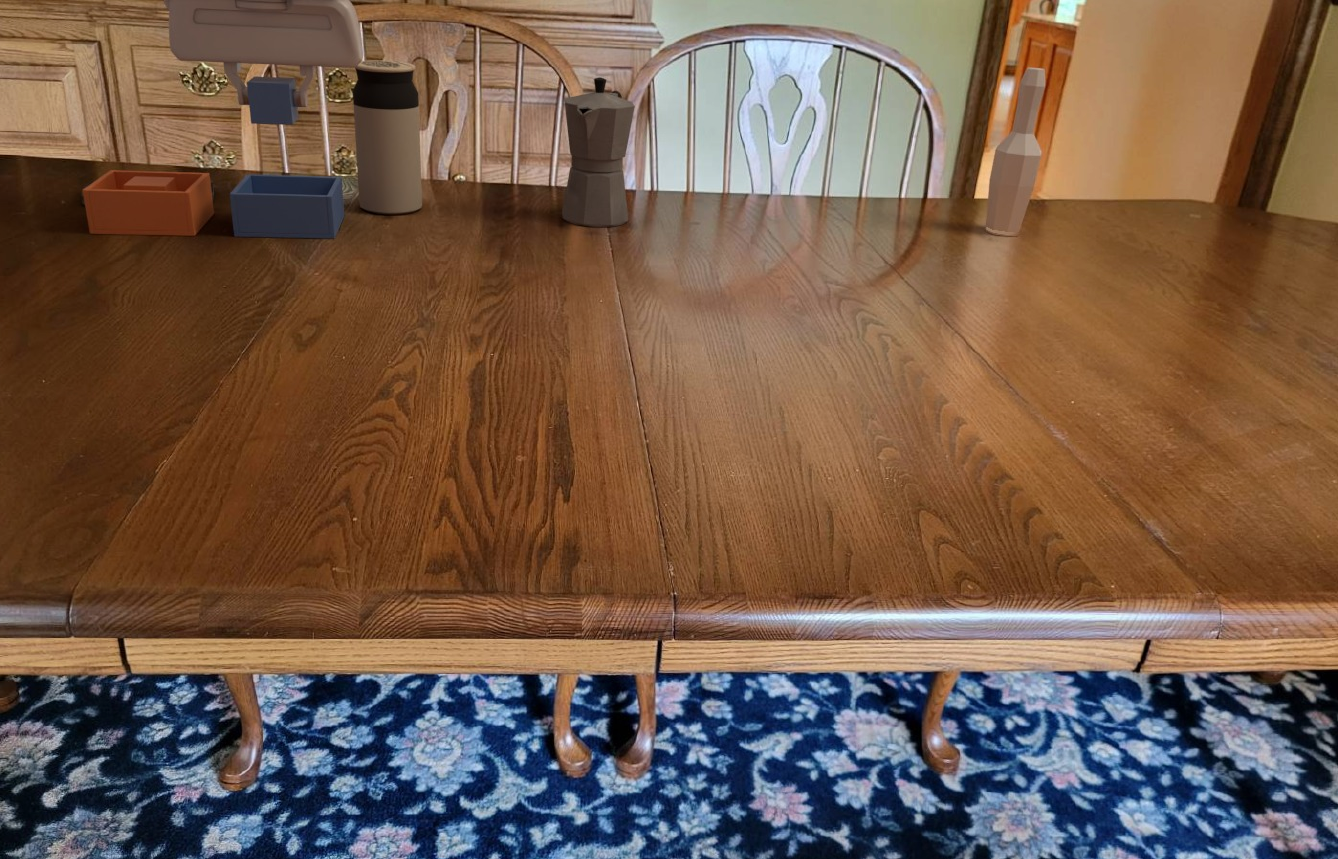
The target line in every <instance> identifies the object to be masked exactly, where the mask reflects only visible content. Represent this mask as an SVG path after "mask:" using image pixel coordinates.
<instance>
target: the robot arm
mask: <svg viewBox="0 0 1338 859" xmlns="http://www.w3.org/2000/svg"><path fill="white" fill-rule="evenodd" d="M163 4H164V6H165V7H166V9H167V10H168V40H169V42H168V43H169V49H170V53H172V55H173V56H175V58H176V59H177V60H179V61H182V62H203V63H223V71H224V74H225V76H226V77H227V78H228V80H229V81H230V83H231V84H232V86H233V87H234V88H235V90H236V92H237V101H238V105H239V106H249V99H248V89H247V85H246V83H244V81H243V80H242V78H241V77H240V74H238V73H239V72H240V71H242V64H247V65H248V64H251V65H252V64H253V65H276V66H298V67H299V75H300V76H301V77H304V79H303V82H302V84H301V86H300V88H296V89H294V90H293V91H292V98H293V106H294V107H298V108H307V107H308V106H309V100H308V99H309V98H308V90H309V88H310V86H311V84H312V82H313V81H314V78H315V76H316V75H317V73H316V67H318V68H319V67H322V68H323V67H324V68H344V69H355V67H356V66H357V65H358V64H359V63H360V62H361V61H363V59H364V49H363V41H362V40H363V38H362V34H361V27H360V23H359V18H358V15H357V11H356V8H355V6H354V5H353V3H352V2H351V1H350V0H163Z"/></svg>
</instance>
